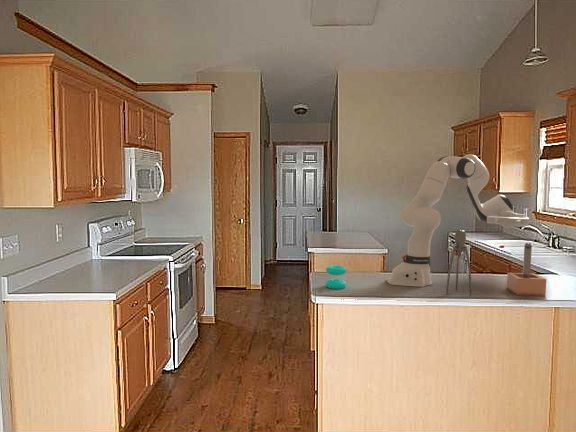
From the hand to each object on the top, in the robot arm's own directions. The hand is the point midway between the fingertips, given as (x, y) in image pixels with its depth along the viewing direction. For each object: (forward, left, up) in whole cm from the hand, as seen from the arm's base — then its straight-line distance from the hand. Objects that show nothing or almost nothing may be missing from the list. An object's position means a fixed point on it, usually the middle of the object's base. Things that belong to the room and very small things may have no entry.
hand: (507, 222), depth 266 cm
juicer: (-30, -23, -32) cm, 49 cm away
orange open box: (+3, -19, -32) cm, 37 cm away
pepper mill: (+3, -19, -31) cm, 36 cm away
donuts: (-87, -18, -32) cm, 94 cm away
